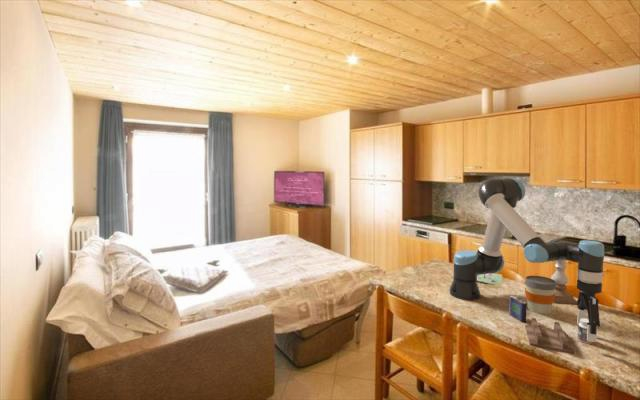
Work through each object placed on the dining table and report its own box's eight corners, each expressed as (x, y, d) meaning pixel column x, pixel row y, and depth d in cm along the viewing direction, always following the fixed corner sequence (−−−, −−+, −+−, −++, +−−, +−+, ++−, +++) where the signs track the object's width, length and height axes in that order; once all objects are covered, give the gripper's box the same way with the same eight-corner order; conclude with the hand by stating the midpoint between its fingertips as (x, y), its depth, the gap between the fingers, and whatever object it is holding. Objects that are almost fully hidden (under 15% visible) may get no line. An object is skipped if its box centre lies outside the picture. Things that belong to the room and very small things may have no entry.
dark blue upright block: (507, 313, 152) (508, 291, 151) (513, 313, 152) (514, 291, 151) (522, 323, 143) (523, 300, 142) (528, 322, 143) (529, 299, 142)
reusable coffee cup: (545, 318, 147) (547, 286, 146) (517, 307, 158) (519, 278, 157) (560, 312, 153) (562, 281, 152) (532, 302, 164) (534, 273, 163)
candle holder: (576, 304, 161) (579, 257, 159) (551, 302, 164) (554, 256, 161) (564, 295, 172) (567, 251, 170) (541, 294, 174) (544, 251, 172)
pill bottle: (577, 336, 131) (578, 316, 131) (592, 339, 129) (593, 319, 128) (578, 341, 128) (579, 321, 127) (593, 345, 125) (595, 324, 124)
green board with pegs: (478, 270, 217) (478, 257, 216) (512, 277, 202) (512, 263, 201) (460, 279, 201) (461, 265, 200) (496, 288, 185) (496, 272, 185)
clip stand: (575, 353, 119) (575, 342, 119) (530, 345, 125) (530, 334, 125) (564, 333, 133) (565, 323, 133) (525, 326, 140) (525, 316, 139)
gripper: (613, 293, 113) (609, 351, 115) (591, 272, 135) (588, 321, 137) (586, 290, 116) (583, 346, 118) (569, 270, 138) (566, 317, 140)
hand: (586, 332), depth 128 cm, fingers open, 13 cm apart
